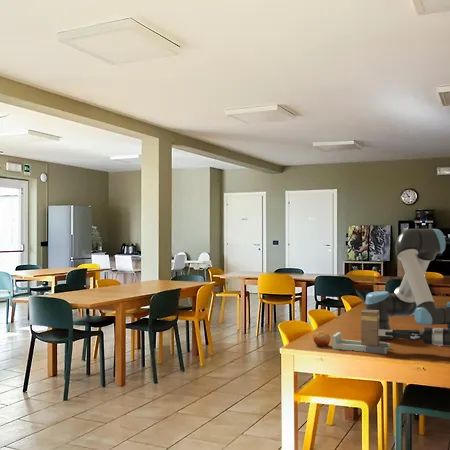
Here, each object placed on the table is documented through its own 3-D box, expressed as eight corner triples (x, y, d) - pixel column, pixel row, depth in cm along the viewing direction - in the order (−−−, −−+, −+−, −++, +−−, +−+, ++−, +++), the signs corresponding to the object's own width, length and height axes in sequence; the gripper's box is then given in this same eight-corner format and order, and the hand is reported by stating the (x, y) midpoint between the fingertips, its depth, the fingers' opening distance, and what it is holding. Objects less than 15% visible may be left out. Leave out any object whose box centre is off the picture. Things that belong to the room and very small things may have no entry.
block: (364, 347, 261) (363, 309, 261) (379, 348, 258) (379, 310, 258) (361, 350, 255) (360, 311, 255) (376, 351, 252) (376, 312, 252)
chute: (338, 344, 269) (338, 331, 269) (390, 348, 259) (390, 335, 259) (332, 349, 257) (332, 336, 258) (386, 354, 247) (386, 340, 247)
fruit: (327, 340, 271) (328, 327, 267) (330, 351, 264) (332, 339, 260) (310, 340, 271) (312, 328, 267) (313, 351, 264) (315, 339, 260)
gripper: (431, 347, 238) (375, 343, 248) (433, 342, 250) (380, 337, 260) (431, 330, 238) (375, 326, 248) (433, 325, 250) (380, 322, 260)
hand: (378, 332), depth 254 cm, fingers closed
